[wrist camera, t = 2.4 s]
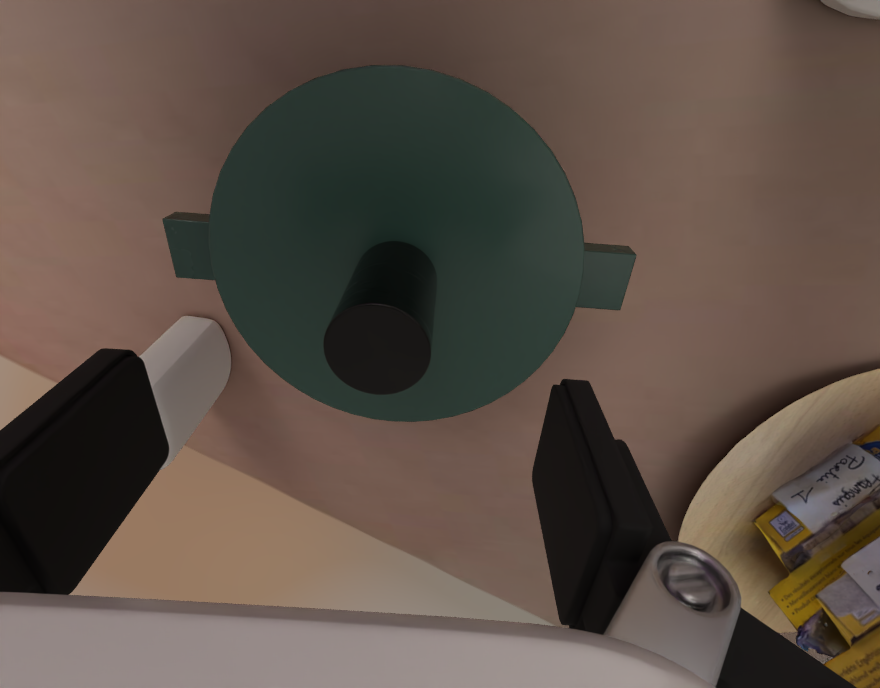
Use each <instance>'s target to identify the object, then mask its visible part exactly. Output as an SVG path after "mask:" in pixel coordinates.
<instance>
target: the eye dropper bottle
mask: <svg viewBox="0 0 880 688" xmlns="http://www.w3.org/2000/svg"><path fill="white" fill-rule="evenodd" d="M139 357H140V358H141V359H142V360H143V361H144V364H145V367H146V371H147V374H148V377H149V380H150V384H151V387H152V390H153V394H154V397H155V400H156V404H157V407H158V410H159V414H160V417H161V420H162V424H163V427H164V430H165V434H166V437H167V440H168V444H169V455H168V458H167V460H166V462H165V463H164V465H163V466H162V467H161V469H163V468H165V467H166V466H168V465H169V464H170V463H171V462H172V461H173V459H174V458H175V457H176V455H177V454H178V453H179V451H180V450H181V449H182V447H183V446H184V445H185V443H186V442H187V440H188V439H189V438H190V436H191V435H192V433H193V432H194V431H195V429H196V428H197V426H198V425H199V424H200V422H201V421H202V419H203V418H204V416H205V415H206V414H207V412H208V411H209V409H210V408H211V407H212V405H213V404H214V402H215V401H216V399H217V398H218V397H219V395H220V394H221V392H222V391H223V389H224V388H225V386H226V384H227V381H228V378H229V375H230V370H231V353H230V348H229V345H228V341H227V339H226V336H225V334H224V332H223V330H222V329H221V327H220V325H219V324H218V323H217V322H216V321H214V320H211V319H207V318H200V317H194V316H183V317H181V318H180V319H179V320H178V321H176V322H175V323H174V324H173V325H172V326H171V327H170V328H169V329H168V330H167V331H166V332H165V333H164V334H163V335H162V336H160V337H159V338H158V339H157V340H156V341H155V342H154V343H153V344H152V345H151V346H150V347H149V348H148V349H147V350H146V351H145V352H144V353H142V354H141V355H140V356H139ZM161 469H160V470H161Z"/></svg>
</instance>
